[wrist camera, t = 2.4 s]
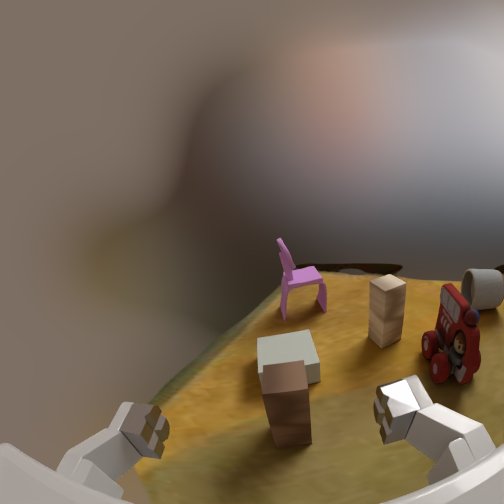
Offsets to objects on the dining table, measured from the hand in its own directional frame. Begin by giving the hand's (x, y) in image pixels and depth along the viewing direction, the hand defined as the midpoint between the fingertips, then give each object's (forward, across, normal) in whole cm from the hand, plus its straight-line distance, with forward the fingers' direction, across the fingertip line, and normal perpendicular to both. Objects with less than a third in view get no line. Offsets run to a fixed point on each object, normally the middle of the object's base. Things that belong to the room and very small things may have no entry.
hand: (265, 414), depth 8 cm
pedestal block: (+24, 0, +20) cm, 31 cm away
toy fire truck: (+17, -23, +20) cm, 35 cm away
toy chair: (+41, -4, +20) cm, 46 cm away
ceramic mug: (+29, -38, +20) cm, 52 cm away
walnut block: (+12, 0, +20) cm, 23 cm away
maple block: (+27, -16, +20) cm, 37 cm away
